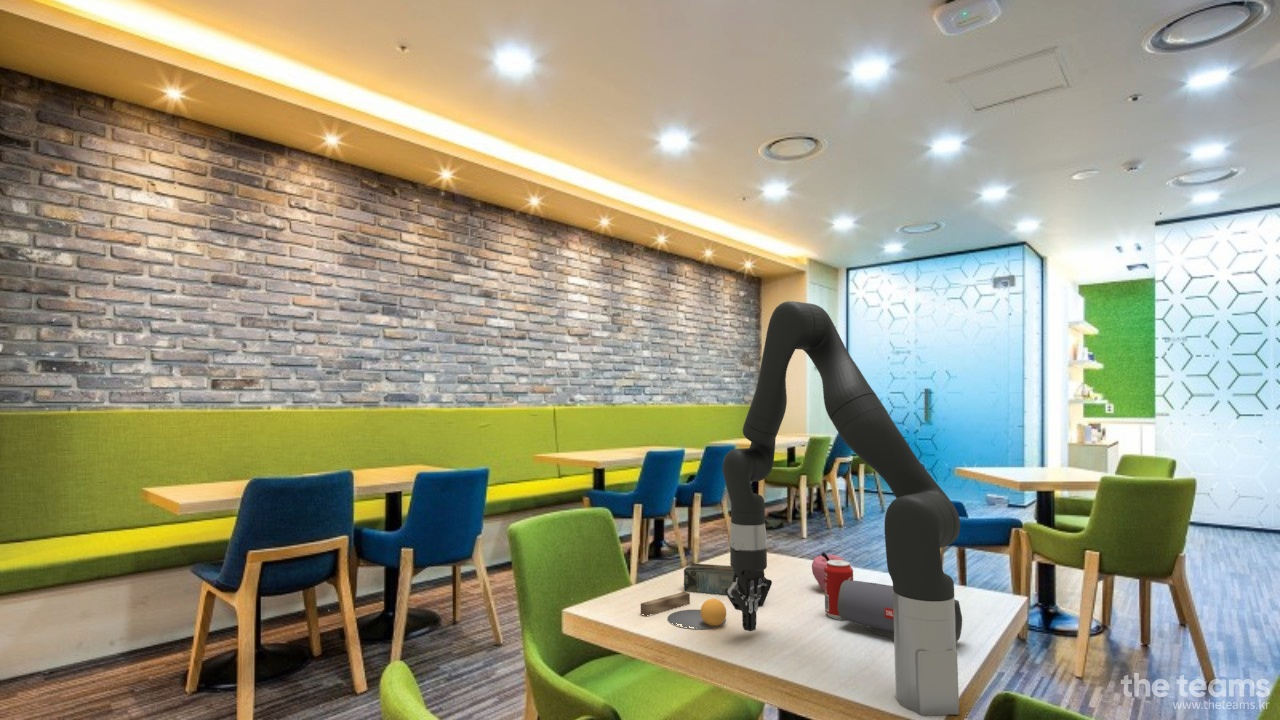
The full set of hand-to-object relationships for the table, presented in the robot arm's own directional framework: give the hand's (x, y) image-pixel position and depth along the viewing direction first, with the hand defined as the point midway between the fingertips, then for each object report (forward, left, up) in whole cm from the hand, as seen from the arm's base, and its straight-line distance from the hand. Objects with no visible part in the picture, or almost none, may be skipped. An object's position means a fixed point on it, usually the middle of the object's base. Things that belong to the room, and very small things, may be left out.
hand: (749, 629), depth 136 cm
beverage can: (+13, -23, -2) cm, 26 cm away
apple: (+33, -27, -2) cm, 42 cm away
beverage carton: (+34, 0, -2) cm, 34 cm away
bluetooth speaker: (0, -31, -2) cm, 31 cm away
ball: (+7, +6, +1) cm, 10 cm away
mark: (+11, +10, -2) cm, 15 cm away
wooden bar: (+19, +16, -2) cm, 25 cm away
